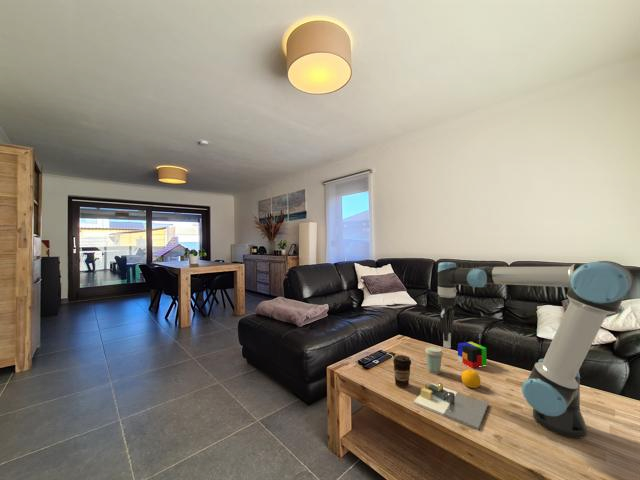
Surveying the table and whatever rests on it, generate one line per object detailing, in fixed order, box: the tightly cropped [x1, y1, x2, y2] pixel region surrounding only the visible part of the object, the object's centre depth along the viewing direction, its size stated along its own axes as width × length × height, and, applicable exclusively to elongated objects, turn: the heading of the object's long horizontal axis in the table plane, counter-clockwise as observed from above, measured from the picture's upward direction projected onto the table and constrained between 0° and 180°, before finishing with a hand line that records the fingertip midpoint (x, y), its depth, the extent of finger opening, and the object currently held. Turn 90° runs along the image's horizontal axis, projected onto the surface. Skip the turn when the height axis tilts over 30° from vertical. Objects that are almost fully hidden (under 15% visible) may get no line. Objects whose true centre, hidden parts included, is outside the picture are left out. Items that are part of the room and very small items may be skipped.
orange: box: [461, 368, 482, 389], centre depth 126 cm, size 8×8×8 cm
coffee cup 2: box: [425, 345, 444, 375], centre depth 140 cm, size 8×8×12 cm
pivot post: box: [447, 392, 455, 404], centre depth 112 cm, size 3×3×4 cm
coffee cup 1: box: [392, 354, 412, 389], centre depth 127 cm, size 9×8×13 cm
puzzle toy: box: [457, 341, 488, 369], centre depth 150 cm, size 10×10×10 cm
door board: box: [413, 382, 458, 417], centre depth 116 cm, size 12×20×4 cm, turn 139°
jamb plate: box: [443, 391, 489, 431], centre depth 108 cm, size 12×20×1 cm, turn 139°
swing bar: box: [424, 382, 448, 400], centre depth 117 cm, size 9×3×5 cm, turn 36°
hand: (447, 347), depth 121 cm, fingers closed
